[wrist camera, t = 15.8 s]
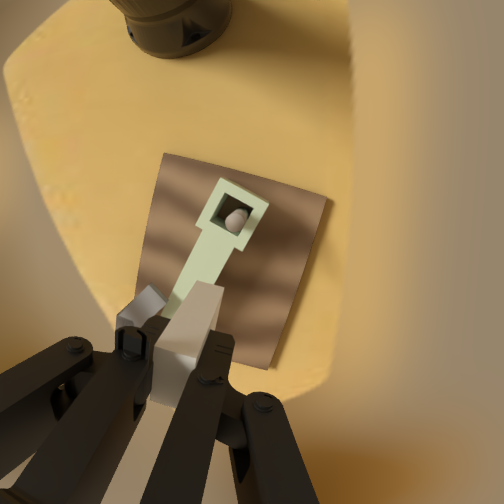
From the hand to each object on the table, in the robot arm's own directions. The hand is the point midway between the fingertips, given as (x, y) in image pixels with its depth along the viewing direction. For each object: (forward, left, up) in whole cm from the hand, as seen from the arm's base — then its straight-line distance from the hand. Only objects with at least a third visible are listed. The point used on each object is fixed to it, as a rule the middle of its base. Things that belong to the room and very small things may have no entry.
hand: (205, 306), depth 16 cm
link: (+4, -3, -23) cm, 24 cm away
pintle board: (+5, -2, -24) cm, 25 cm away
